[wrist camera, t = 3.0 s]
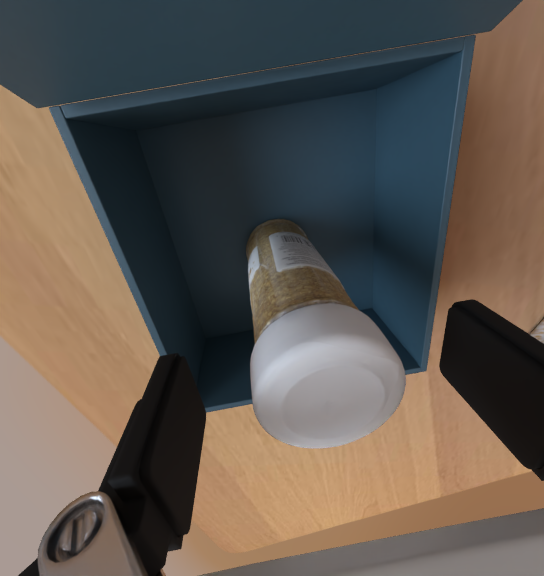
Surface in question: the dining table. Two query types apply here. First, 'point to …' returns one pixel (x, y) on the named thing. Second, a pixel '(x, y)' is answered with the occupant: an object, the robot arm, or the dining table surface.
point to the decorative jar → (539, 332)
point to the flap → (205, 39)
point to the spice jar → (313, 347)
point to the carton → (278, 194)
